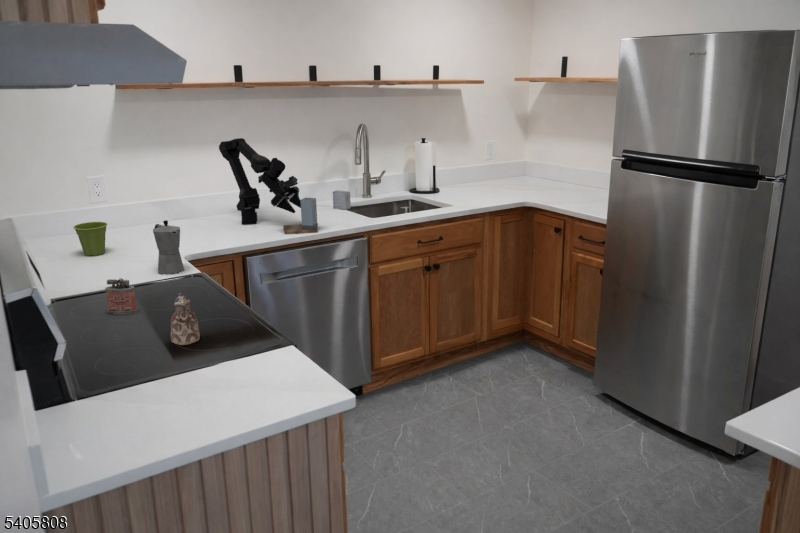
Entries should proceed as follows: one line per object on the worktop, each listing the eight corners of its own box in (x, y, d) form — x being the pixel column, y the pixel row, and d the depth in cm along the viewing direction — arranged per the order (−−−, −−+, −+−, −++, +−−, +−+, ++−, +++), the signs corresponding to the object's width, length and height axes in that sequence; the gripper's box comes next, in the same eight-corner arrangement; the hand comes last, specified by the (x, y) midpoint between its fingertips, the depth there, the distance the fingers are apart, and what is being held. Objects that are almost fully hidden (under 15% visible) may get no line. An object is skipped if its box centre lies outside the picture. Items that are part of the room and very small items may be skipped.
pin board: (284, 234, 278) (283, 222, 276) (283, 227, 290) (282, 216, 289) (317, 232, 280) (317, 221, 279) (315, 225, 293) (314, 214, 291)
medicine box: (351, 208, 328) (350, 191, 325) (345, 210, 324) (345, 192, 322) (338, 207, 332) (337, 190, 329) (333, 208, 328) (332, 191, 326)
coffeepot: (192, 272, 227) (187, 221, 222) (166, 278, 221) (160, 225, 216) (172, 263, 238) (167, 214, 233) (147, 268, 232) (141, 218, 226)
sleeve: (301, 229, 281) (299, 199, 277) (306, 226, 286) (305, 197, 282) (313, 230, 280) (311, 200, 276) (318, 227, 285) (316, 198, 281)
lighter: (139, 309, 192) (134, 277, 189) (135, 313, 189) (130, 280, 186) (111, 310, 192) (106, 277, 189) (106, 314, 188) (101, 281, 186)
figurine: (170, 346, 166) (165, 301, 163) (171, 335, 173) (166, 292, 169) (199, 343, 168) (195, 298, 165) (200, 332, 175) (195, 290, 171)
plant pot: (70, 256, 247) (65, 227, 244) (93, 248, 258) (88, 220, 254) (96, 259, 244) (92, 229, 240) (118, 250, 254) (114, 222, 251)
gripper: (276, 174, 270) (302, 202, 270) (294, 167, 287) (318, 193, 288) (259, 192, 274) (285, 219, 274) (278, 184, 291) (302, 210, 292)
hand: (299, 210), depth 282 cm, fingers open, 9 cm apart
